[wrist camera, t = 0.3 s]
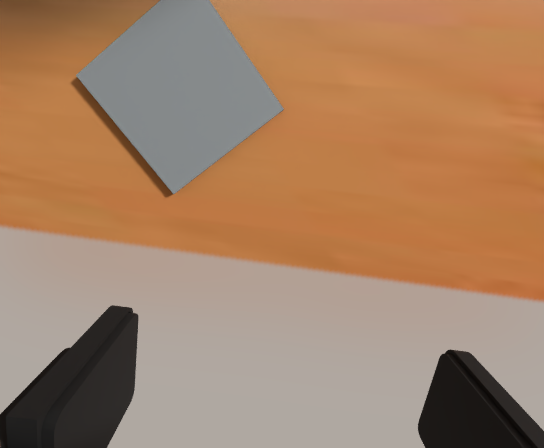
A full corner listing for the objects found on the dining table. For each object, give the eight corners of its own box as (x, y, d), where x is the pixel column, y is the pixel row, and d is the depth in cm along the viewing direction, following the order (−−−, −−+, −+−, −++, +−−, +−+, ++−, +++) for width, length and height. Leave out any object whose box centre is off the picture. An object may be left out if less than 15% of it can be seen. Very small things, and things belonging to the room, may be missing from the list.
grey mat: (192, -22, 34) (190, -27, 33) (283, 109, 37) (283, 109, 36) (81, 77, 36) (75, 75, 35) (175, 192, 39) (173, 194, 38)
